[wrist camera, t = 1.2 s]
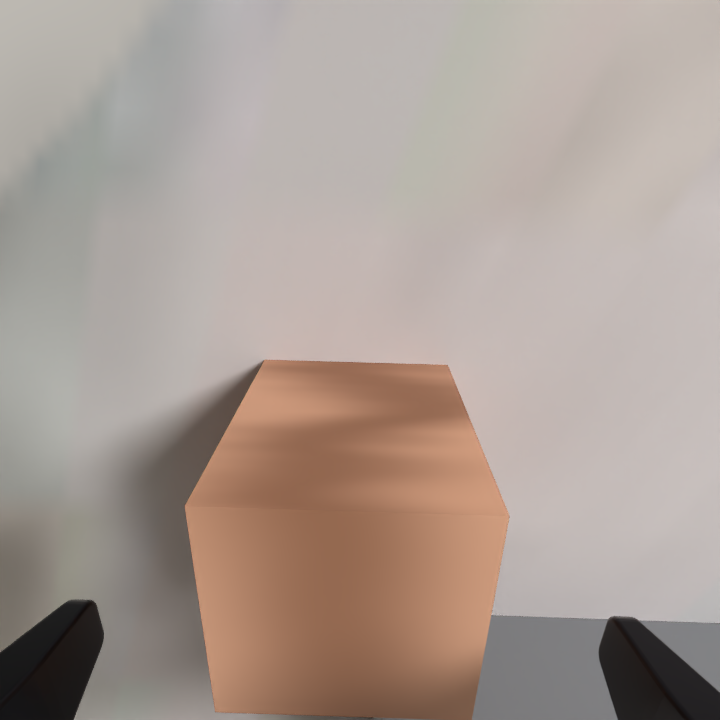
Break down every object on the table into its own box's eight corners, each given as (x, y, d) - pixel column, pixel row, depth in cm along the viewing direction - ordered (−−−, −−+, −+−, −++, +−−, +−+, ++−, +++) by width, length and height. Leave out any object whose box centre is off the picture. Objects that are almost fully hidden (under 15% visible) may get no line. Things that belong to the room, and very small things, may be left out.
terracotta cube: (447, 364, 13) (509, 516, 7) (432, 510, 15) (471, 720, 9) (264, 359, 13) (184, 506, 7) (273, 505, 15) (215, 712, 9)
